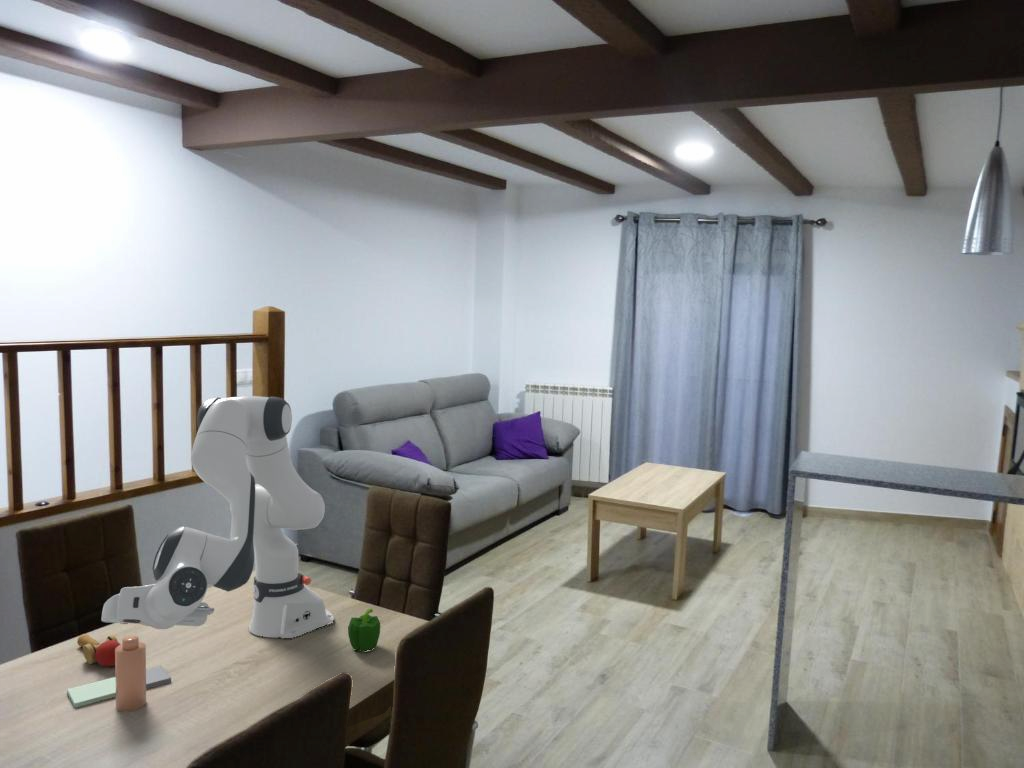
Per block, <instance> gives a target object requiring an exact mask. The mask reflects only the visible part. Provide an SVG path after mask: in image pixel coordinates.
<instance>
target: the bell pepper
mask: <svg viewBox="0 0 1024 768" xmlns="http://www.w3.org/2000/svg"><path fill="white" fill-rule="evenodd" d="M373 612H374V610H373V609H372V608H369V609H367V610H366V611H365V613H364V614H363V615H360V616H358V617H351V618H350V620H349V623H348V626H347V635H348V638H349V643H350V646H351V647H352V650H354V649H355V650H361V651H367V650H372V649H373V648H375V647H376V648H377V645H378V641H379V638H380V635H381V622H380V620H379V618H378V615H376V616H375V615H373V616H372V615H370V613H373ZM376 648H375V649H376ZM355 650H354V651H355ZM361 651H360V652H361Z"/></svg>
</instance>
